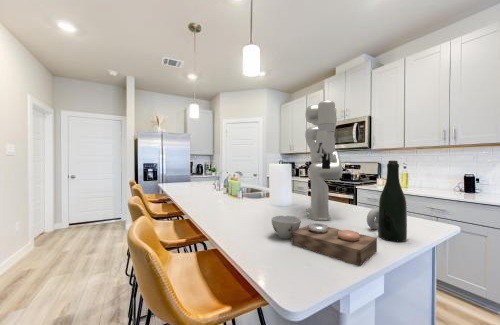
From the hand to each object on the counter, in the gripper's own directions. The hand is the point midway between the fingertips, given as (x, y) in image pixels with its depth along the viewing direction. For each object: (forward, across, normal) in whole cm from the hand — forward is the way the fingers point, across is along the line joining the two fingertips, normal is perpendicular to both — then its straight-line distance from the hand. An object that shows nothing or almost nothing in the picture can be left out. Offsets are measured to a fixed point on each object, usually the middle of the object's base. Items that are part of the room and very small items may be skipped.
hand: (326, 168), depth 106 cm
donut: (+29, -20, +15) cm, 39 cm away
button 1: (+28, +16, +5) cm, 32 cm away
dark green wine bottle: (+29, -12, +24) cm, 40 cm away
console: (+29, +16, +11) cm, 35 cm away
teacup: (+29, +18, -10) cm, 36 cm away
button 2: (+28, +16, +17) cm, 36 cm away
